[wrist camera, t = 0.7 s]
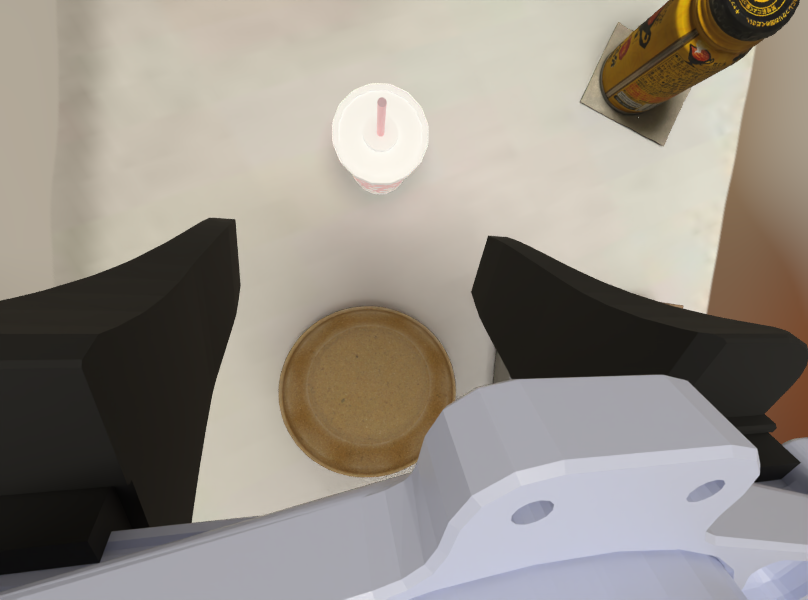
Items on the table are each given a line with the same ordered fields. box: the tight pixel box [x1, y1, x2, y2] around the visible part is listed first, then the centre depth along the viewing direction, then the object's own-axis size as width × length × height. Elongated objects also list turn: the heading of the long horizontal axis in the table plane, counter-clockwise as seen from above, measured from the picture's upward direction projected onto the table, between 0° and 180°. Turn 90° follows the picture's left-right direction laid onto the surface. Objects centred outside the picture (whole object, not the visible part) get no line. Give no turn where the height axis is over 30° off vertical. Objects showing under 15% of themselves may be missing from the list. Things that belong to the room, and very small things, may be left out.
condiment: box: [581, 0, 800, 146], centre depth 29 cm, size 7×8×12 cm
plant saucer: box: [279, 306, 456, 477], centre depth 35 cm, size 15×15×3 cm
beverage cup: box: [332, 83, 428, 194], centre depth 27 cm, size 6×6×14 cm
